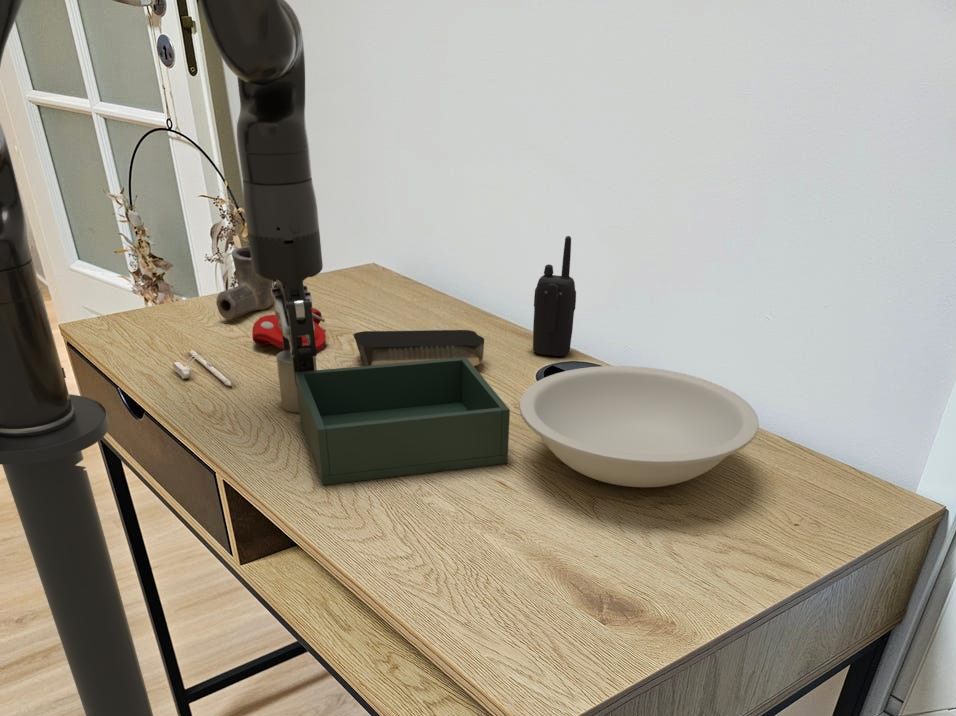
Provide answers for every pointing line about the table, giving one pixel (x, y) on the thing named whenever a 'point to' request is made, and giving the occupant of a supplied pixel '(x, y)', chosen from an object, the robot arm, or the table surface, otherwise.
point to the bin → (401, 419)
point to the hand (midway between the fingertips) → (300, 374)
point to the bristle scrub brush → (418, 346)
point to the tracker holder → (270, 331)
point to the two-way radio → (554, 309)
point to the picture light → (185, 370)
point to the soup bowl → (637, 423)
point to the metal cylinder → (288, 381)
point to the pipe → (244, 289)
